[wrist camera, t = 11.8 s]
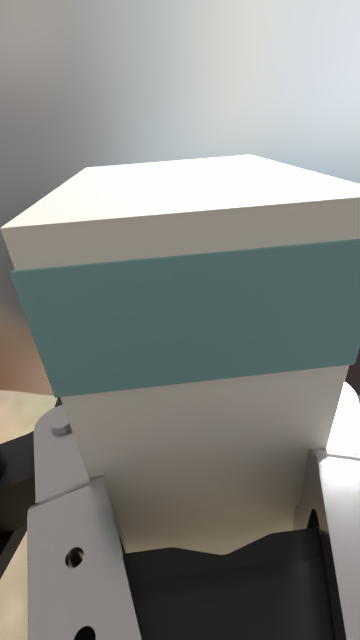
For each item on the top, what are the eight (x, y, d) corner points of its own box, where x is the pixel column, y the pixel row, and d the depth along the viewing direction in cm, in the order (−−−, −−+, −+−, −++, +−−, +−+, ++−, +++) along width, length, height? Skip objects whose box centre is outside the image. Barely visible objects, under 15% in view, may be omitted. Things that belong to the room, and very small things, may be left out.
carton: (142, 636, 10) (-6, 230, 3) (143, 464, 15) (84, 167, 9) (283, 615, 10) (402, 194, 4) (237, 452, 16) (251, 154, 9)
